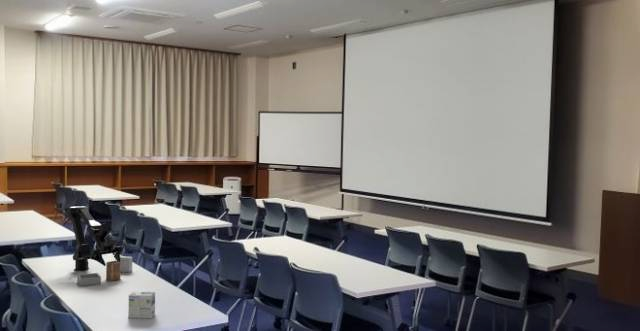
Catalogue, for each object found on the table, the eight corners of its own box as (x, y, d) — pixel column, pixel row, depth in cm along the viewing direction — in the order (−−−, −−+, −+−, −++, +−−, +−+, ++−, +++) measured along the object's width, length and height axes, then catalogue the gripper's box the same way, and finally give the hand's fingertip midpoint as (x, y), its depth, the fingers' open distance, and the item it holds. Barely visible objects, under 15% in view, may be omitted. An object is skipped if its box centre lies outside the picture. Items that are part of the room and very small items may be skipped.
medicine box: (132, 270, 344) (132, 256, 343) (129, 272, 339) (129, 258, 339) (120, 270, 345) (120, 255, 344) (116, 271, 340) (116, 257, 340)
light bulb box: (155, 314, 264) (155, 291, 263) (151, 318, 257) (152, 295, 256) (132, 313, 263) (132, 290, 263) (127, 318, 257) (128, 294, 256)
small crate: (106, 279, 321) (106, 262, 321) (114, 277, 326) (115, 260, 325) (111, 281, 318) (112, 263, 317) (120, 279, 322) (120, 262, 322)
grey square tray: (77, 281, 315) (77, 274, 315) (97, 279, 320) (97, 272, 320) (80, 286, 306) (80, 279, 306) (100, 284, 311) (100, 277, 311)
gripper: (92, 235, 317) (103, 258, 311) (121, 232, 332) (132, 253, 326) (84, 248, 322) (95, 270, 316) (113, 243, 337) (124, 265, 331)
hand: (112, 264), depth 322 cm, fingers open, 9 cm apart
